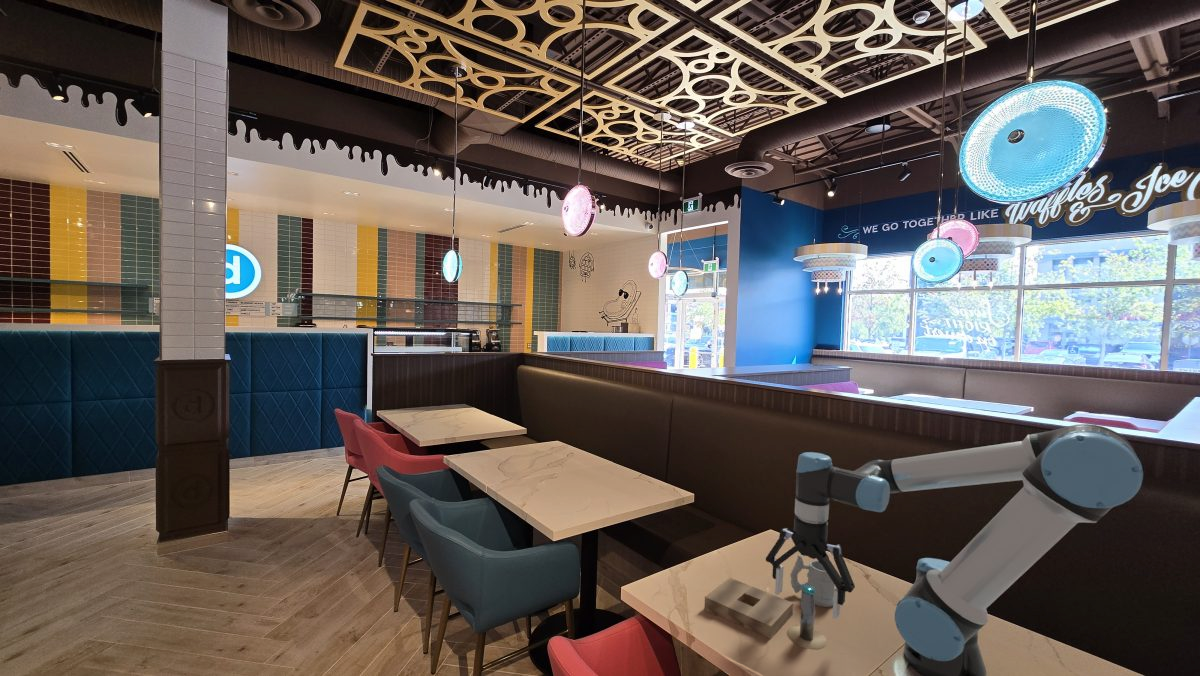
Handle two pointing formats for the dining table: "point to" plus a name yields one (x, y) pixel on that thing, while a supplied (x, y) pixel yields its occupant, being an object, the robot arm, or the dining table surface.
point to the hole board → (749, 607)
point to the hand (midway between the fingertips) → (806, 603)
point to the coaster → (816, 643)
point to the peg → (807, 612)
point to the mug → (814, 581)
